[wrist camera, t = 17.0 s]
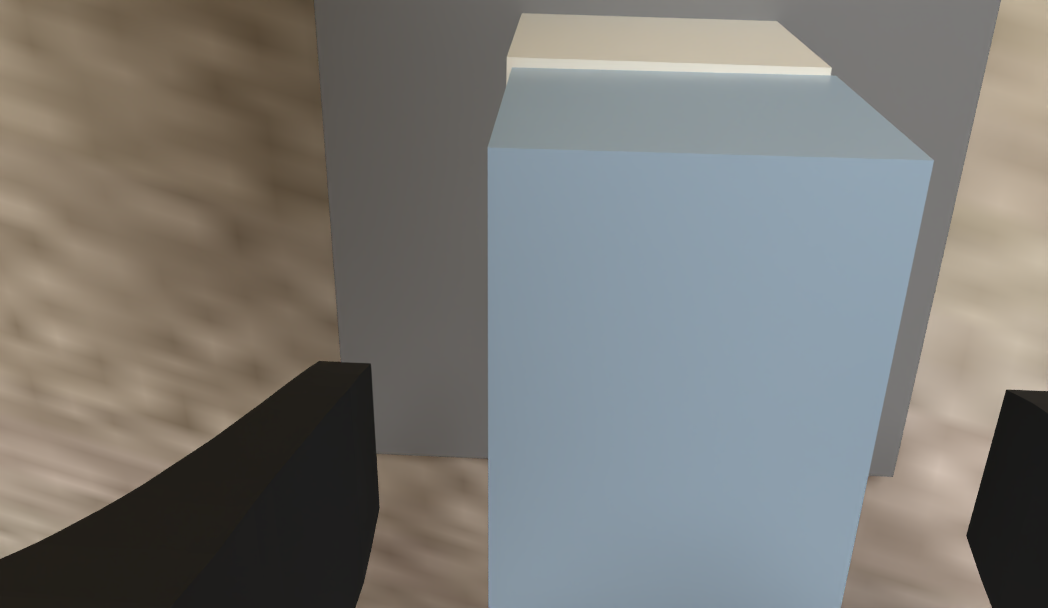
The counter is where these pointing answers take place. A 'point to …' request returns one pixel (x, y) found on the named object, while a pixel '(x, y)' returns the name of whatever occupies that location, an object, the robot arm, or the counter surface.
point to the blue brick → (688, 334)
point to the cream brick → (659, 45)
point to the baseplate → (462, 176)
